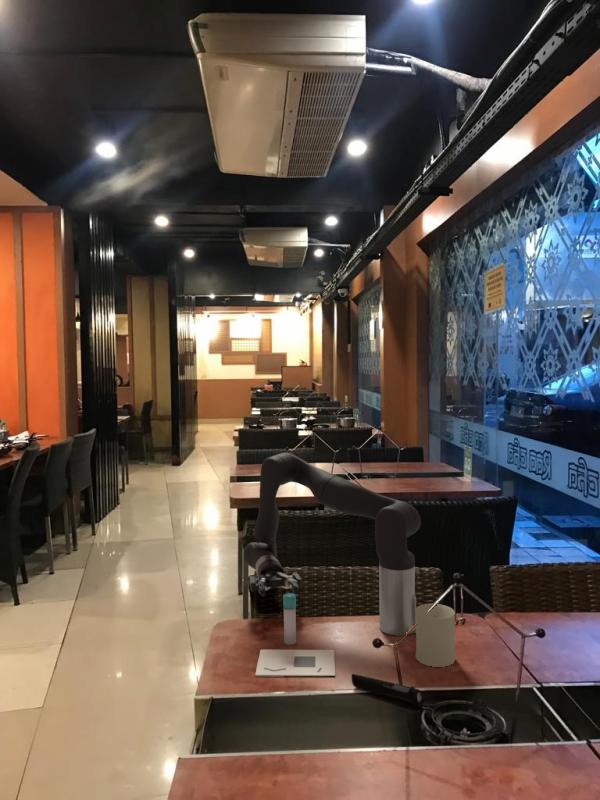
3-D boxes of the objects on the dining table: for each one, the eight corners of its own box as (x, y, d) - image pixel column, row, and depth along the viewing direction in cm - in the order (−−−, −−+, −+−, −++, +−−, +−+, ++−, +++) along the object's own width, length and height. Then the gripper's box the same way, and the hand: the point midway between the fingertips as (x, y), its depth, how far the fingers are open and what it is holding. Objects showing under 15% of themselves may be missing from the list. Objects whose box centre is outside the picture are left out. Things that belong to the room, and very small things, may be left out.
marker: (296, 639, 154) (296, 593, 153) (296, 644, 151) (295, 598, 150) (284, 639, 154) (283, 593, 154) (283, 644, 151) (282, 598, 150)
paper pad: (333, 651, 147) (333, 649, 147) (335, 676, 135) (335, 674, 135) (260, 651, 148) (260, 649, 148) (255, 676, 136) (255, 674, 136)
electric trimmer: (355, 683, 134) (355, 669, 133) (424, 700, 126) (423, 685, 126) (348, 691, 130) (348, 677, 130) (418, 709, 123) (418, 694, 123)
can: (419, 668, 139) (419, 617, 138) (412, 649, 148) (412, 601, 147) (459, 667, 139) (459, 616, 138) (449, 648, 148) (449, 601, 147)
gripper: (245, 560, 177) (254, 580, 161) (292, 557, 180) (305, 576, 165) (245, 585, 178) (254, 607, 162) (292, 581, 181) (305, 602, 165)
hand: (280, 591), depth 163 cm, fingers open, 8 cm apart
